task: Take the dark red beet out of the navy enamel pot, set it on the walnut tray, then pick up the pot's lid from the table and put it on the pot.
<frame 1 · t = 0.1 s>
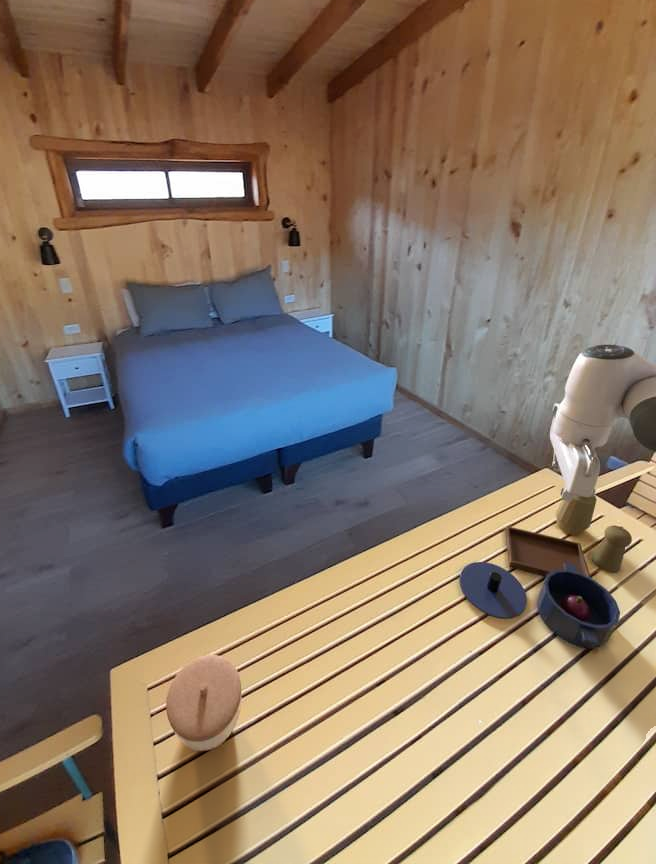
hand: (560, 483, 83), 30 cm above the table, tool pointing down, fingers open, 8 cm apart
tray: (544, 557, 102), on the table
lid: (492, 589, 94), point 1 cm above the table
pot: (571, 617, 88), on the table
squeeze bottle: (568, 528, 111), on the table
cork: (604, 563, 100), on the table
lidded bowl: (210, 720, 73), on the table
beet: (571, 615, 88), resting on pot
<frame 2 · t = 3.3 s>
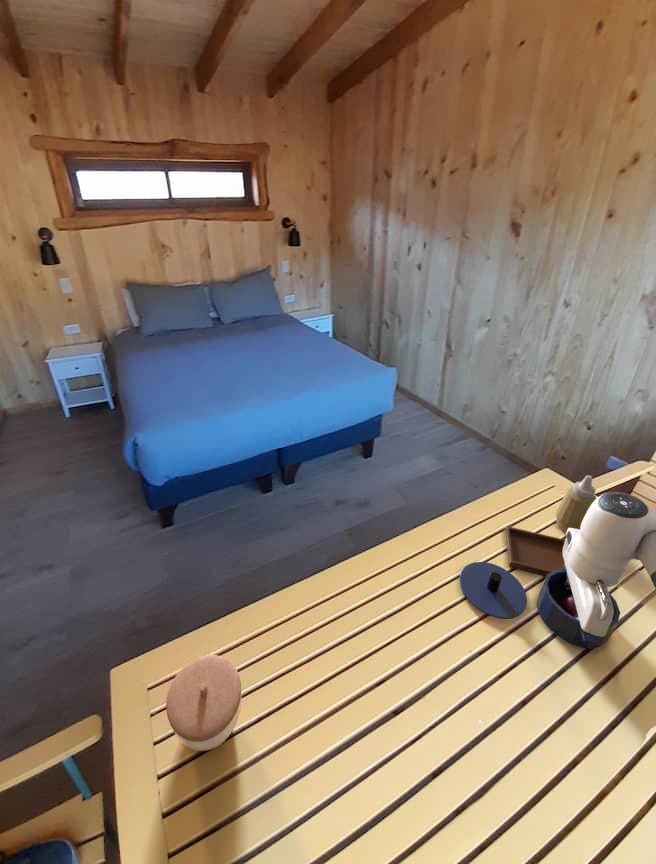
hand: (573, 605, 87), 4 cm above the table, tool pointing down, fingers closed on pot, 7 cm apart
nothing on the table moved.
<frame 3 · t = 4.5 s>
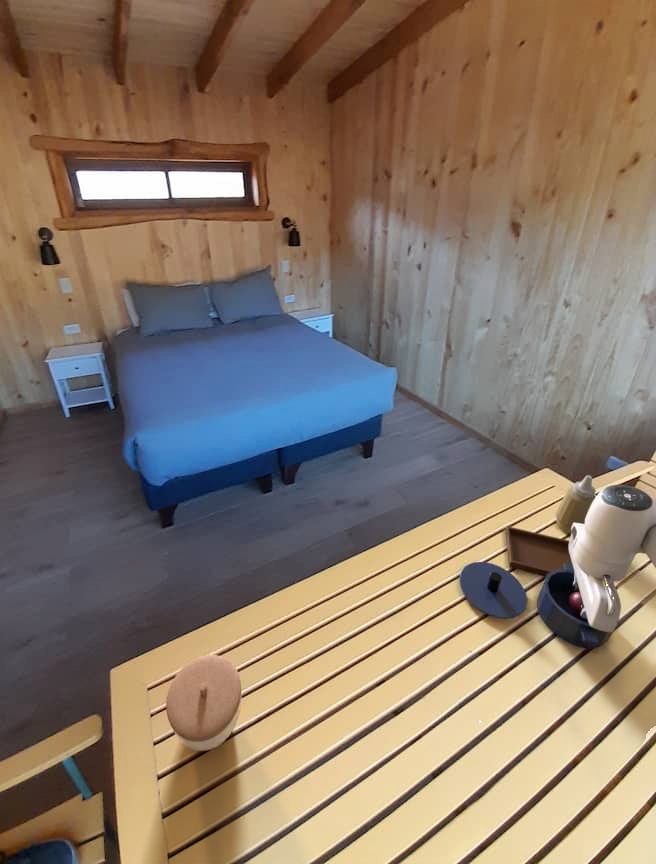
hand: (581, 601, 85), 5 cm above the table, tool pointing down, fingers closed on beet, 5 cm apart
beet: (579, 613, 87), point 2 cm above the table, touching gripper
everything else where it was.
when the fingers open (4 cm above the table, at t = 10.1 s): beet stays where it is, resting on tray.
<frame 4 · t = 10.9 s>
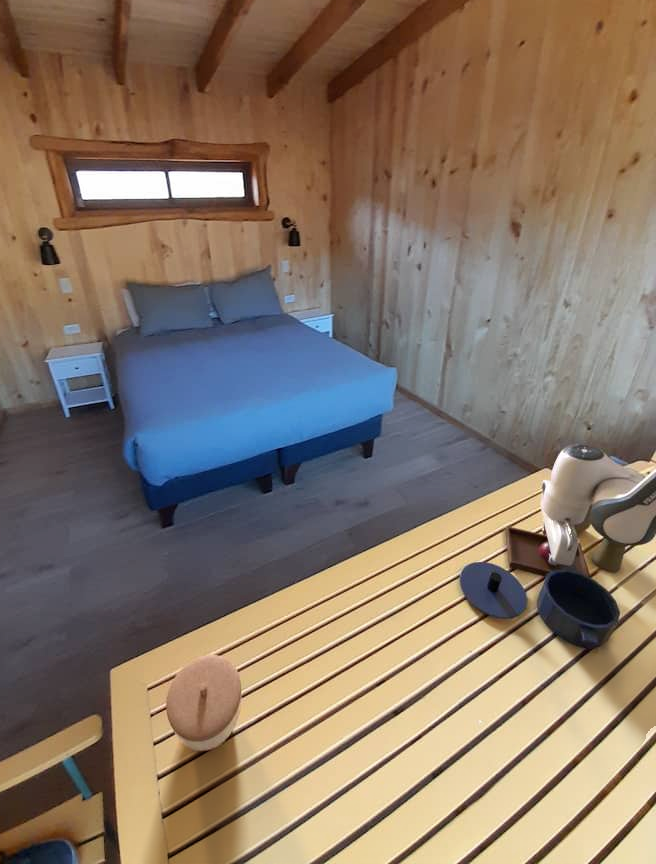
hand: (548, 547, 100), 4 cm above the table, tool pointing down, fingers open, 8 cm apart
beet: (547, 556, 101), point 1 cm above the table, tilted 20°, touching tray
everything else where it was.
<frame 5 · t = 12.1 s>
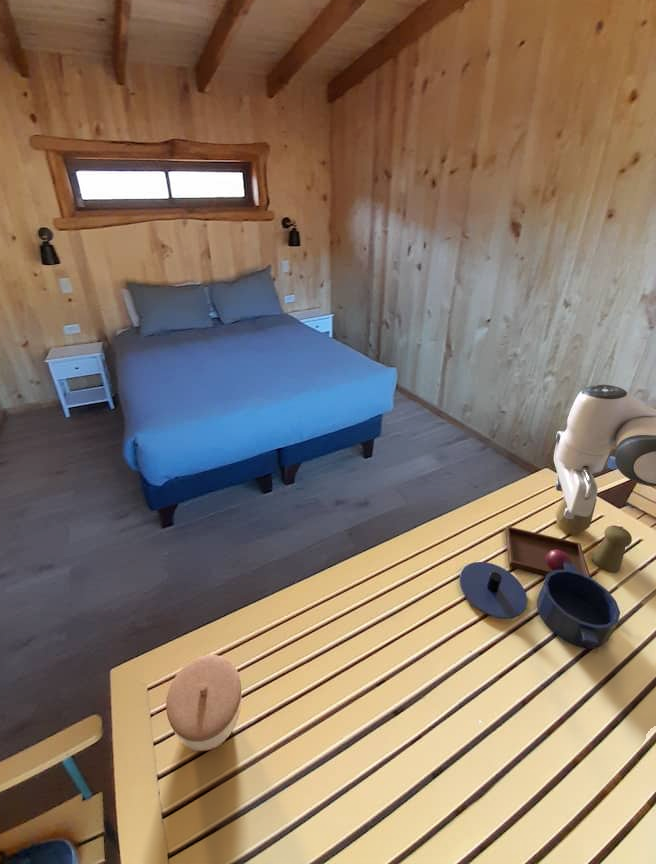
hand: (563, 502, 93), 19 cm above the table, tool pointing down, fingers open, 8 cm apart
beet: (552, 554, 100), point 2 cm above the table, tilted 72°, touching tray
everything else where it was.
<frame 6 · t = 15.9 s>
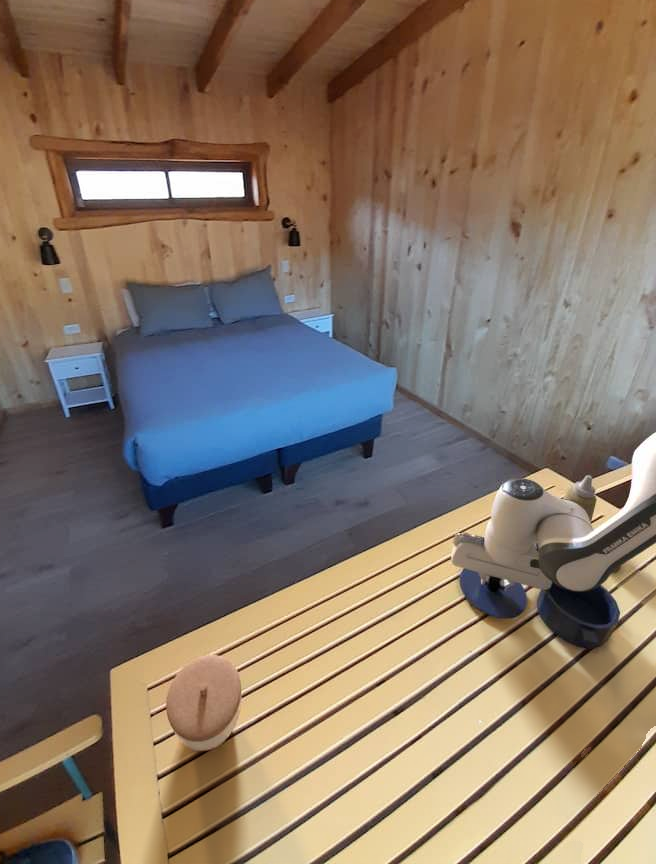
hand: (493, 585, 93), 2 cm above the table, tool pointing down, fingers closed on lid, 2 cm apart
lid: (492, 589, 94), point 1 cm above the table, touching gripper
everything else where it was.
when the fingers open (8 cm above the table, at t = 21.5 s): lid stays where it is, resting on pot.
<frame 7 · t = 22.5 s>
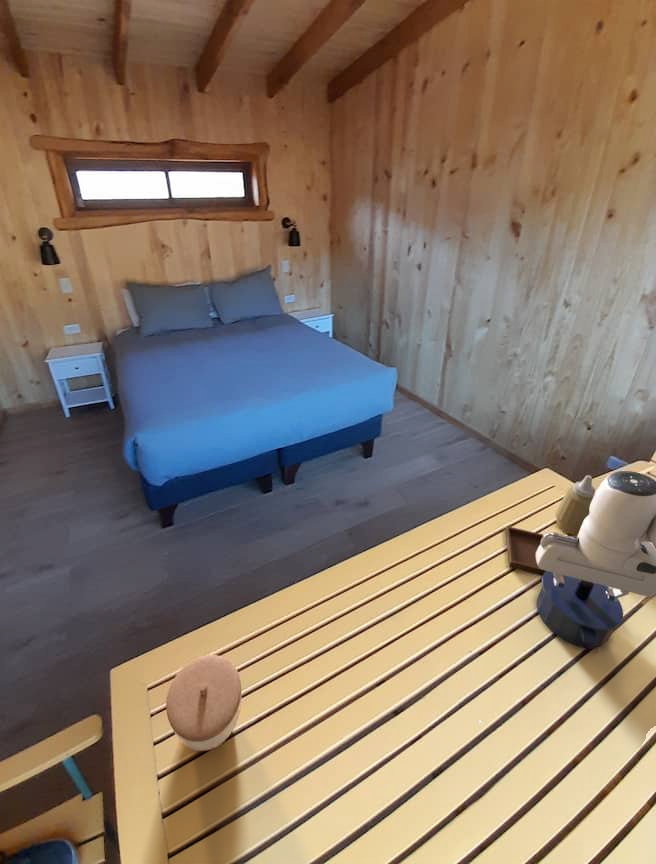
hand: (583, 591, 84), 9 cm above the table, tool pointing down, fingers open, 8 cm apart
lid: (580, 596, 85), point 7 cm above the table, touching pot
everything else where it was.
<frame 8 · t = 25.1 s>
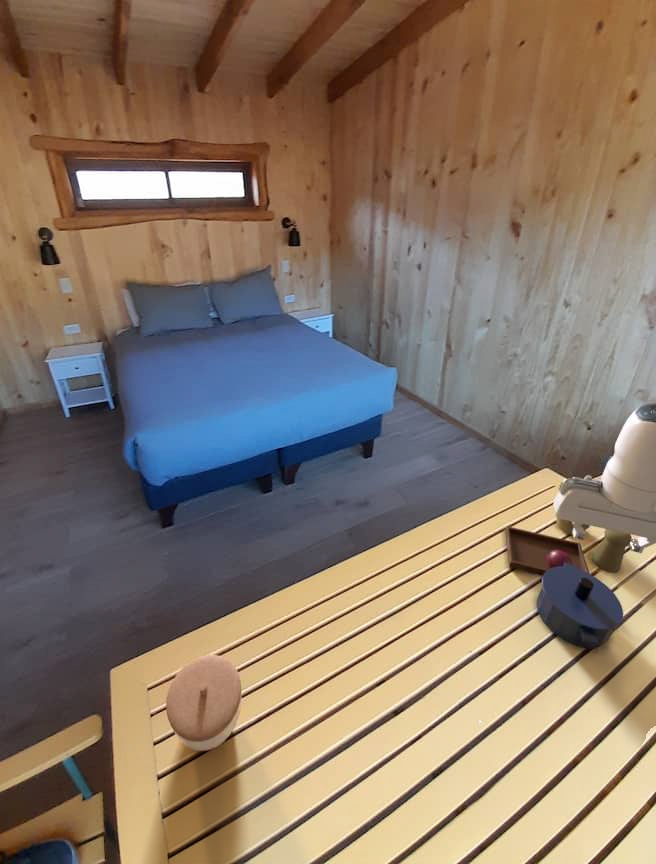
hand: (605, 542, 78), 23 cm above the table, tool pointing down, fingers open, 8 cm apart
nothing on the table moved.
at the end: beet inside the target area in the tray (1.5 cm from its centre), point 2.5 cm above the tray's base; lid 0.0 cm off-centre on the pot, point 7.0 cm above the pot's base; lid tilted 0° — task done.
